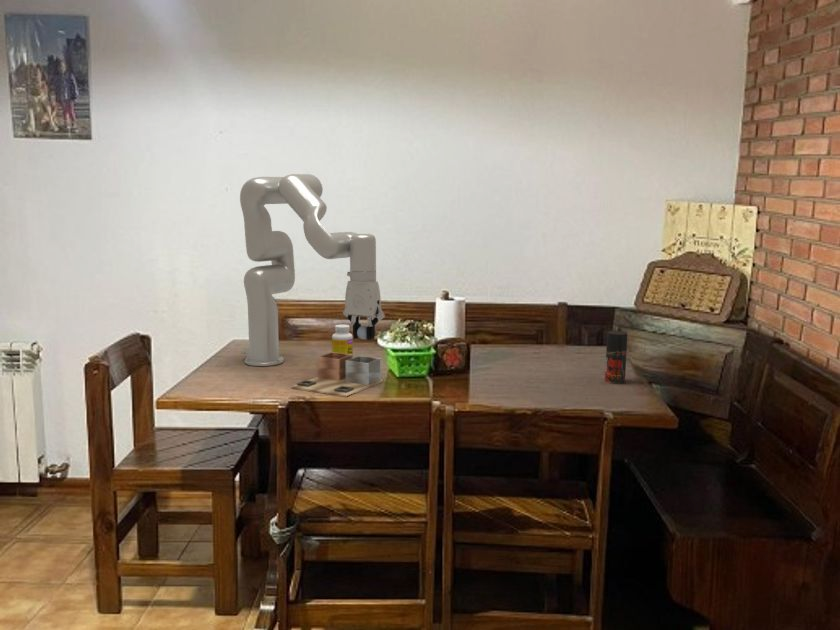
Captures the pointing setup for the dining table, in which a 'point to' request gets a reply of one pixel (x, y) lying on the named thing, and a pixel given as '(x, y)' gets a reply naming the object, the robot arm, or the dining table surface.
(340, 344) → the supplement bottle
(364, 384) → the stand
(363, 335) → the slate ball
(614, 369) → the deodorant
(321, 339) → the dining table surface
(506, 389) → the dining table surface
